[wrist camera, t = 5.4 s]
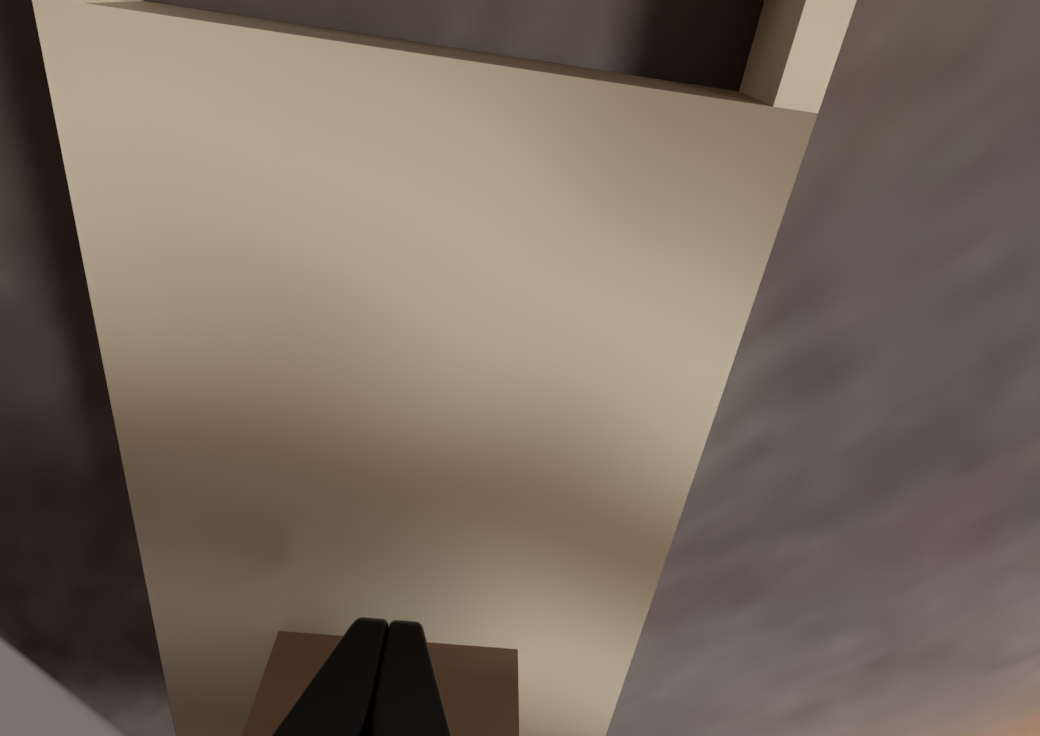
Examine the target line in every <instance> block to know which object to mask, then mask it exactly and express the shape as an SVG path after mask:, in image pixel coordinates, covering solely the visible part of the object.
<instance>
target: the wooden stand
mask: <svg viewBox="0 0 1040 736" xmlns="http://www.w3.org/2000/svg"><path fill="white" fill-rule="evenodd" d="M856 1H857V0H764V4H763V8H762V11H761V15H760V18H759V22H758V25H757V29H756V32H755V36H754V40H753V43H752V47H751V50H750V54H749V57H748V61H747V64H746V68H745V71H744V75H743V79H742V82H741V86H740V89H739V91H734V90H727V89H720V88H714V87H707V86H701V85H694V84H688V83H681V82H674V81H668V80H661V79H655V78H648V77H641V76H635V75H628V74H622V73H615V72H608V71H602V70H595V69H589V68H582V67H576V66H569V65H562V64H556V63H549V62H543V61H536V60H529V59H523V58H516V57H510V56H503V55H496V54H490V53H483V52H477V51H470V50H464V49H457V48H450V47H444V46H437V45H431V44H424V43H417V42H411V41H404V40H398V39H391V38H384V37H378V36H371V35H365V34H358V33H352V32H345V31H338V30H332V29H325V28H319V27H312V26H305V25H299V24H292V23H286V22H279V21H272V20H266V19H259V18H253V17H246V16H240V15H233V14H226V13H220V12H213V11H207V10H200V9H193V8H187V7H180V6H174V5H167V4H160V3H154V2H147V1H143V0H32V3H33V9H34V14H35V19H36V24H37V29H38V34H39V39H40V44H41V49H42V55H43V60H44V65H45V70H46V75H47V80H48V85H49V90H50V95H51V101H52V106H53V111H54V116H55V121H56V126H57V131H58V136H59V141H60V147H61V152H62V157H63V162H64V167H65V172H66V177H67V182H68V187H69V193H70V198H71V203H72V208H73V213H74V218H75V223H76V228H77V233H78V239H79V244H80V249H81V254H82V259H83V264H84V269H85V274H86V279H87V285H88V290H89V295H90V300H91V305H92V310H93V315H94V320H95V325H96V331H97V336H98V341H99V346H100V351H101V356H102V361H103V366H104V371H105V377H106V382H107V387H108V392H109V397H110V402H111V407H112V412H113V417H114V423H115V428H116V433H117V438H118V443H119V448H120V453H121V458H122V463H123V469H124V474H125V479H126V484H127V489H128V494H129V499H130V504H131V509H132V515H133V520H134V525H135V530H136V535H137V540H138V545H139V550H140V555H141V560H142V566H143V571H144V576H145V581H146V586H147V591H148V596H149V601H150V606H151V612H152V617H153V622H154V627H155V632H156V637H157V642H158V647H159V652H160V658H161V663H162V668H163V673H164V678H165V683H166V688H167V693H168V698H169V704H170V709H171V714H172V719H173V724H174V729H175V734H176V736H272V735H273V733H274V732H275V731H276V729H277V728H278V726H279V725H280V724H281V722H282V721H283V719H284V718H285V717H286V715H287V714H288V712H289V711H290V710H291V708H292V707H293V705H294V704H295V703H296V701H297V700H298V698H299V697H300V696H301V694H302V693H303V691H304V690H305V689H306V687H307V686H308V684H309V683H310V682H311V680H312V679H313V677H314V676H315V675H316V673H317V672H318V670H319V669H320V668H321V666H322V665H323V663H324V662H325V661H326V659H327V658H328V656H329V655H330V654H331V652H332V651H333V649H334V648H335V647H336V645H337V644H338V642H339V641H340V640H341V638H342V637H343V635H344V634H345V633H346V631H347V630H348V628H349V627H350V626H351V624H352V623H353V622H354V621H355V620H356V619H357V618H360V617H366V618H379V619H385V620H386V621H387V622H388V625H389V624H390V623H391V622H392V621H394V620H404V621H416V622H419V623H421V625H422V626H423V629H424V633H425V637H426V640H427V644H428V648H429V652H430V656H431V659H432V663H433V667H434V671H435V675H436V678H437V682H438V686H439V690H440V693H441V697H442V701H443V705H444V709H445V712H446V716H447V720H448V724H449V728H450V731H451V735H452V736H606V733H607V730H608V727H609V724H610V721H611V718H612V715H613V712H614V710H615V707H616V704H617V701H618V698H619V695H620V692H621V689H622V686H623V683H624V680H625V677H626V674H627V671H628V669H629V666H630V663H631V660H632V657H633V654H634V651H635V648H636V645H637V642H638V639H639V636H640V633H641V630H642V628H643V625H644V622H645V619H646V616H647V613H648V610H649V607H650V604H651V601H652V598H653V595H654V592H655V589H656V586H657V584H658V581H659V578H660V575H661V572H662V569H663V566H664V563H665V560H666V557H667V554H668V551H669V548H670V545H671V543H672V540H673V537H674V534H675V531H676V528H677V525H678V522H679V519H680V516H681V513H682V510H683V507H684V504H685V502H686V499H687V496H688V493H689V490H690V487H691V484H692V481H693V478H694V475H695V472H696V469H697V466H698V463H699V461H700V458H701V455H702V452H703V449H704V446H705V443H706V440H707V437H708V434H709V431H710V428H711V425H712V422H713V420H714V417H715V414H716V411H717V408H718V405H719V402H720V399H721V396H722V393H723V390H724V387H725V384H726V381H727V379H728V376H729V373H730V370H731V367H732V364H733V361H734V358H735V355H736V352H737V349H738V346H739V343H740V340H741V337H742V335H743V332H744V329H745V326H746V323H747V320H748V317H749V314H750V311H751V308H752V305H753V302H754V299H755V296H756V294H757V291H758V288H759V285H760V282H761V279H762V276H763V273H764V270H765V267H766V264H767V261H768V258H769V255H770V253H771V250H772V247H773V244H774V241H775V238H776V235H777V232H778V229H779V226H780V223H781V220H782V217H783V214H784V212H785V209H786V206H787V203H788V200H789V197H790V194H791V191H792V188H793V185H794V182H795V179H796V176H797V173H798V171H799V168H800V165H801V162H802V159H803V156H804V153H805V150H806V147H807V144H808V141H809V138H810V135H811V132H812V129H813V127H814V124H815V121H816V118H817V115H818V112H819V109H820V106H821V103H822V100H823V97H824V94H825V91H826V88H827V86H828V83H829V80H830V77H831V74H832V71H833V68H834V65H835V62H836V59H837V56H838V53H839V50H840V47H841V45H842V42H843V39H844V36H845V33H846V30H847V27H848V24H849V21H850V18H851V15H852V12H853V9H854V6H855V4H856Z"/></svg>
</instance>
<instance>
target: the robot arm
mask: <svg viewBox="0 0 1040 736" xmlns="http://www.w3.org/2000/svg"><path fill="white" fill-rule="evenodd" d="M272 736H452V735H451V731H450V728H449V724H448V720H447V716H446V712H445V709H444V705H443V701H442V697H441V693H440V690H439V686H438V682H437V678H436V675H435V671H434V667H433V663H432V659H431V656H430V652H429V648H428V644H427V640H426V637H425V633H424V629H423V626H422V625H421V623H419V622H416V621H404V620H394V621H392V622H391V623H390V624H389V625H388V622H387V621H386V620H385V619H379V618H366V617H360V618H357V619H356V620H355V621H354V622H353V623H352V624H351V626H350V627H349V628H348V630H347V631H346V633H345V634H344V635H343V637H342V638H341V640H340V641H339V642H338V644H337V645H336V647H335V648H334V649H333V651H332V652H331V654H330V655H329V656H328V658H327V659H326V661H325V662H324V663H323V665H322V666H321V668H320V669H319V670H318V672H317V673H316V675H315V676H314V677H313V679H312V680H311V682H310V683H309V684H308V686H307V687H306V689H305V690H304V691H303V693H302V694H301V696H300V697H299V698H298V700H297V701H296V703H295V704H294V705H293V707H292V708H291V710H290V711H289V712H288V714H287V715H286V717H285V718H284V719H283V721H282V722H281V724H280V725H279V726H278V728H277V729H276V731H275V732H274V733H273V735H272Z"/></svg>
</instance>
